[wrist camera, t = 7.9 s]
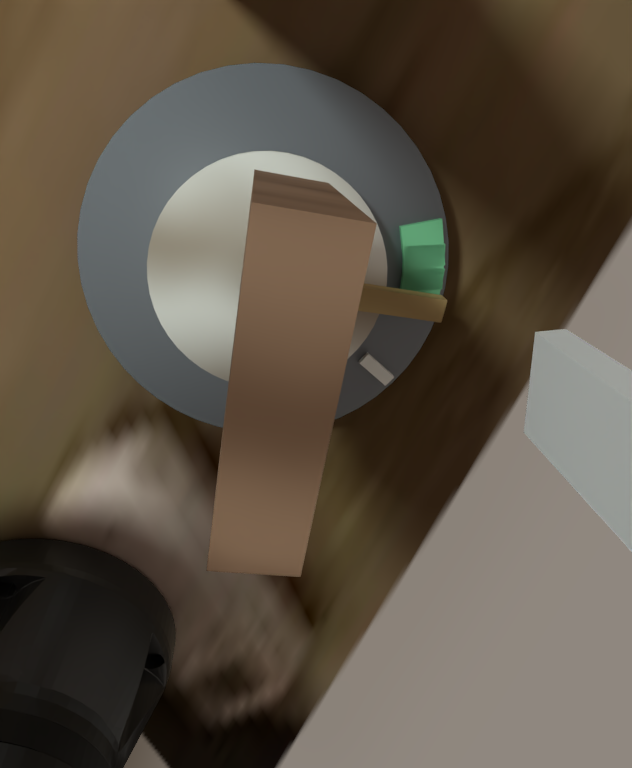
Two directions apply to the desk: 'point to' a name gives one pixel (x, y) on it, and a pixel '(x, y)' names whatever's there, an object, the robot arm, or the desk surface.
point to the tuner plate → (239, 135)
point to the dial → (272, 332)
